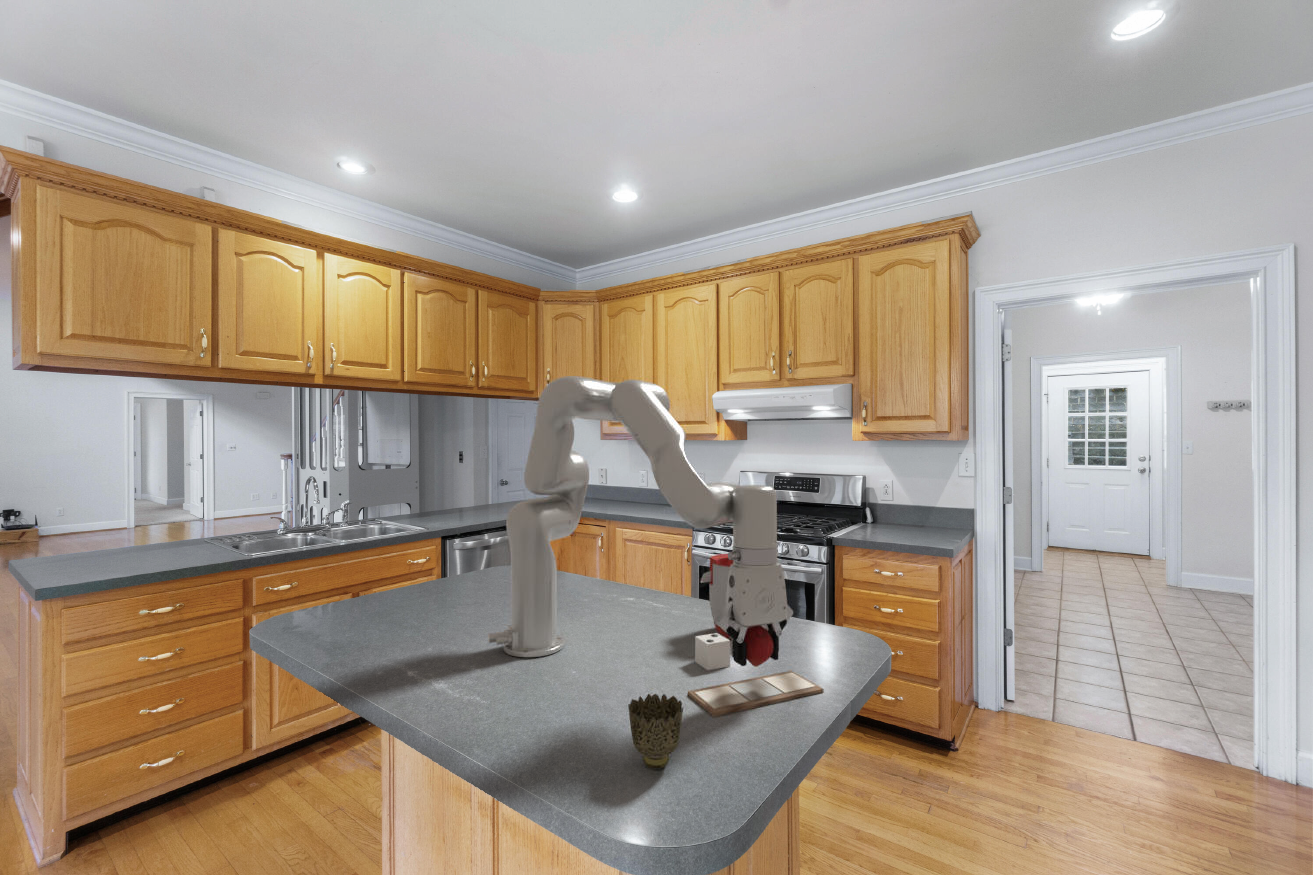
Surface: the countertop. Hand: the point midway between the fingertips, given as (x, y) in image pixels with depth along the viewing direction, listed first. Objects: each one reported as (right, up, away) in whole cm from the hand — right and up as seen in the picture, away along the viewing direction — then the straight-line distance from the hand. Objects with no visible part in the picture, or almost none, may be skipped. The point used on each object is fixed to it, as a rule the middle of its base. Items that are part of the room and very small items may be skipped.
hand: (755, 659), depth 100 cm
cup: (-17, -6, -22) cm, 29 cm away
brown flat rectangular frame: (0, -6, 0) cm, 6 cm away
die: (-6, -6, +14) cm, 16 cm away
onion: (0, -1, 0) cm, 1 cm away
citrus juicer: (+2, -7, +33) cm, 33 cm away
